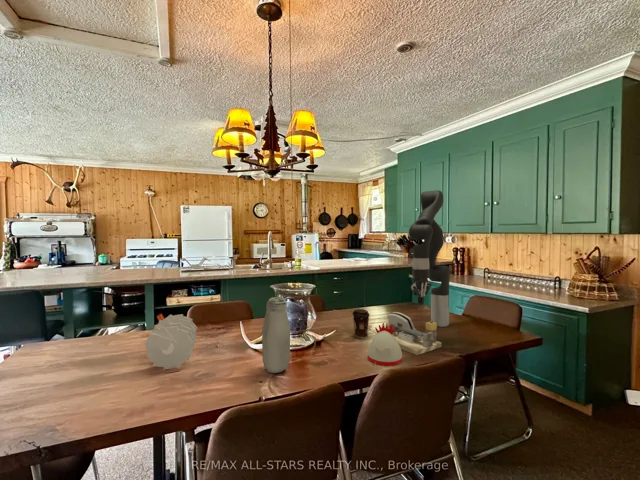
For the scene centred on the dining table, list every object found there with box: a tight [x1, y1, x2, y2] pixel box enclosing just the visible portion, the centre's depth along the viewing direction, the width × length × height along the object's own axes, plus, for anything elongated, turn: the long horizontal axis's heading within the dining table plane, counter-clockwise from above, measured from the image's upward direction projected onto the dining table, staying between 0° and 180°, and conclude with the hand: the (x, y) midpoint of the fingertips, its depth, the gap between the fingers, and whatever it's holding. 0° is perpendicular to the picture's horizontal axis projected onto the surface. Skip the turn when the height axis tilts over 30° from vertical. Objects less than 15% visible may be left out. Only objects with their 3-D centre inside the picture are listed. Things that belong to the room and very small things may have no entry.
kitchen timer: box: [367, 322, 403, 367], centre depth 133 cm, size 14×14×15 cm
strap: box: [396, 325, 425, 337], centre depth 151 cm, size 3×17×1 cm, turn 35°
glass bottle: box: [261, 296, 291, 374], centre depth 121 cm, size 10×10×28 cm
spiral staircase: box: [144, 313, 199, 370], centre depth 132 cm, size 18×18×25 cm
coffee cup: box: [352, 308, 370, 339], centre depth 162 cm, size 9×8×13 cm
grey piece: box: [387, 311, 418, 331], centre depth 174 cm, size 17×5×10 cm, turn 28°
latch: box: [425, 320, 438, 331], centre depth 149 cm, size 4×3×4 cm
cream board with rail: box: [392, 322, 442, 356], centre depth 151 cm, size 17×22×8 cm
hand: (420, 304), depth 152 cm, fingers closed
